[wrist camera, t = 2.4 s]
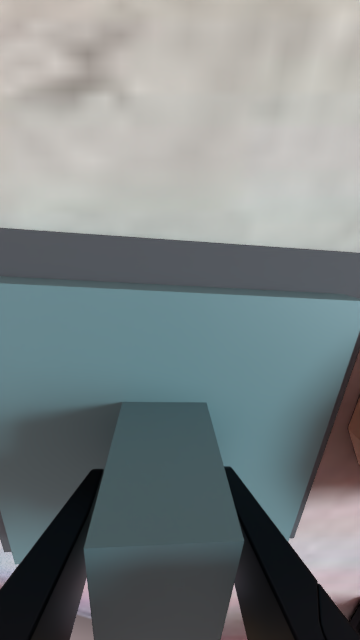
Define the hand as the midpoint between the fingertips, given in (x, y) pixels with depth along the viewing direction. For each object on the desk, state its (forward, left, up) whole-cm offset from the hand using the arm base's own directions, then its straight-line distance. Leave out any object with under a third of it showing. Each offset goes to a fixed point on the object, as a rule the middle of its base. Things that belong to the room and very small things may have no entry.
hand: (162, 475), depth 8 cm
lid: (0, 0, -2) cm, 2 cm away
